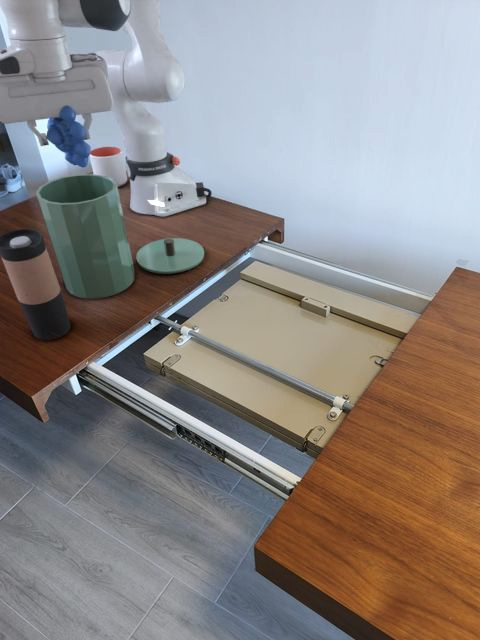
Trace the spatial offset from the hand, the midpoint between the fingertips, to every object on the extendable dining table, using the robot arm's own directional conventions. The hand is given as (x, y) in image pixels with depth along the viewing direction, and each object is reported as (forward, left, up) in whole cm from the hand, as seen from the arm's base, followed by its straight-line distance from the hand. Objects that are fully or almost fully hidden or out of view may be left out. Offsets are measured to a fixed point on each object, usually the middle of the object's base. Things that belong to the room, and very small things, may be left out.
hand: (65, 141), depth 89 cm
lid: (-18, -2, -30) cm, 35 cm away
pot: (0, 0, -30) cm, 30 cm away
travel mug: (+13, +14, -31) cm, 36 cm away
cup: (-17, -56, -31) cm, 66 cm away
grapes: (0, 0, -5) cm, 5 cm away
